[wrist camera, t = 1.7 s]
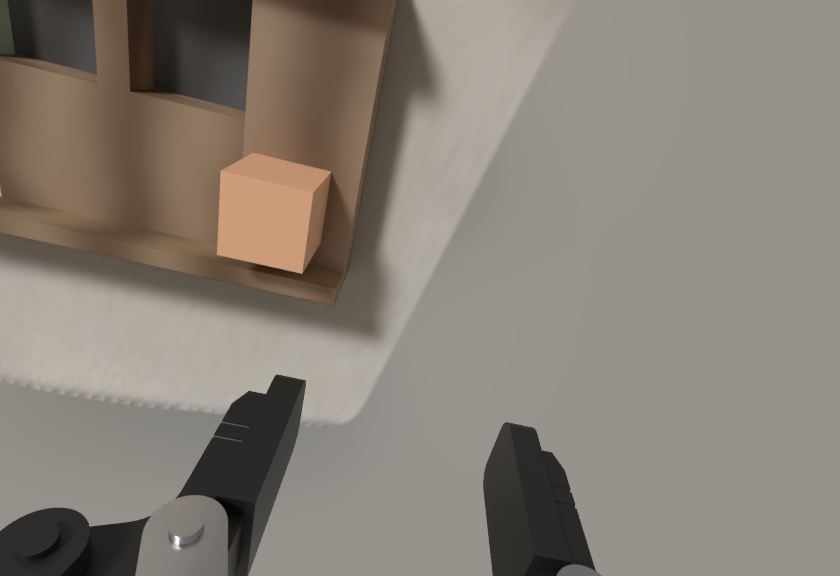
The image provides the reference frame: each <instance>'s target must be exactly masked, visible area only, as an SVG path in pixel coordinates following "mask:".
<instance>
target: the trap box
mask: <svg viewBox="0 0 840 576" xmlns="http://www.w3.org/2000/svg"><path fill="white" fill-rule="evenodd" d="M396 6H397V0H0V233H5V234H10V235H14V236H19V237H23V238H28V239H33V240H37V241H42V242H46V243H51V244H55V245H60V246H65V247H69V248H74V249H78V250H83V251H87V252H92V253H97V254H101V255H106V256H110V257H115V258H120V259H124V260H129V261H133V262H138V263H142V264H147V265H152V266H156V267H161V268H165V269H170V270H174V271H179V272H184V273H188V274H193V275H197V276H202V277H207V278H211V279H216V280H220V281H225V282H229V283H234V284H239V285H243V286H248V287H252V288H257V289H261V290H266V291H271V292H275V293H280V294H284V295H289V296H294V297H298V298H303V299H307V300H312V301H316V302H321V303H326V304H330V305H334V304H335V301H336V299H337V296H338V294H339V291H340V289H341V286H342V284H343V281H344V279H345V276H346V274H347V271H348V267H349V262H350V256H351V251H352V245H353V240H354V234H355V229H356V223H357V218H358V213H359V207H360V202H361V196H362V191H363V185H364V180H365V174H366V169H367V164H368V158H369V153H370V147H371V142H372V136H373V131H374V125H375V120H376V114H377V109H378V104H379V98H380V93H381V87H382V82H383V76H384V71H385V65H386V60H387V55H388V49H389V44H390V38H391V33H392V27H393V22H394V16H395V11H396ZM252 153H256V154H260V155H264V156H268V157H273V158H277V159H281V160H285V161H289V162H293V163H297V164H302V165H306V166H310V167H314V168H318V169H322V170H327V171H331V178H330V184H329V191H328V198H327V204H326V211H325V218H324V224H323V231H322V238H321V243H320V245H319V247H318V248H317V250H316V252H315V253H314V255H313V257H312V258H311V260H310V262H309V263H308V265H307V267H306V268H305V270H304V272H303V273H302V274H301V273H297V272H292V271H288V270H283V269H279V268H274V267H270V266H265V265H261V264H256V263H252V262H247V261H243V260H238V259H234V258H229V257H225V256H220V255H217V242H218V219H219V197H220V174H221V170H223V169H225V168H227V167H228V166H230V165H232V164H234V163H236V162H237V161H239V160H241V159H243V158H245V157H246V156H248V155H250V154H252Z"/></svg>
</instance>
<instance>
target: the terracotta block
mask: <svg viewBox="0 0 840 576" xmlns="http://www.w3.org/2000/svg"><path fill="white" fill-rule="evenodd" d="M330 178H331V171H327V170H322V169H318V168H314V167H310V166H306V165H302V164H297V163H293V162H289V161H285V160H281V159H277V158H273V157H268V156H264V155H260V154H256V153H252V154H250V155H248V156H246V157H245V158H243V159H241V160H239V161H237V162H236V163H234V164H232V165H230V166H228V167H227V168H225V169H223V170H221V174H220V197H219V219H218V242H217V255H220V256H225V257H229V258H234V259H238V260H243V261H247V262H252V263H256V264H261V265H265V266H270V267H274V268H279V269H283V270H288V271H292V272H297V273H301V274H302V273H303V272H304V270H305V268H306V267H307V265H308V263H309V262H310V260H311V258H312V257H313V255H314V253H315V252H316V250H317V248H318V247H319V245H320V243H321V238H322V231H323V224H324V218H325V211H326V204H327V198H328V191H329V184H330Z"/></svg>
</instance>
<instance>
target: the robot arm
mask: <svg viewBox="0 0 840 576" xmlns="http://www.w3.org/2000/svg"><path fill="white" fill-rule="evenodd" d="M305 387H306V381H305V380H301V379H296V378H291V377H286V376H282V375H276V376H275V377H274V379H273V381H272V383H271V385H270V387H269V389H268V391H267V393H266V394H262V393H257V392H252V391H248V392H247V393H246V394H244V395H243V396H241V397H240V398H239V399H237V400H236V401H235V402H233V403H232V404H231V406H230V408H229V410H228V411H227V413H226V415H225V417H224V418H223V420H222V423H221V424H220V425H219V427H218V429H217V430H216V432H215V434H214V437H213V438H212V439H211V441H210V443H209V444H208V446H207V448H206V449H205V451H204V453H203V455H202V456H201V458H200V460H199V461H198V463H197V465H196V467H195V469H194V470H193V472H192V474H191V475H190V477H189V479H188V480H187V482H186V484H185V486H184V487H183V489H182V491H181V492H180V494H179V495H178V497H176V499H174V500H172V501H170V502H168V503H166V504H164V505H163V506H161V507H160V508H159V509H158V510H156V511H155V512H154V513H153V515H152V516H149V517H147V518H144V519H141V520H137V521H132V522H126V523H118V524H109V525H102V526H101V525H100V526H92V527H89V523H88V521H87V520H86V518H85V517H84V516H83V515H82V514H81V513H79V512H77V511H75V510H72V509H67V508H49V509H43V510H40V511H36V512H33V513H30V514H27V515H25V516H23V517H21V518H19V519H17V520H16V521H14V522H12V523H11V524H9V525H8V526H6V527H5V528H4V529H2V530H1V531H0V576H248V574H249V572H250V569H251V566H252V563H253V561H254V558H255V555H256V552H257V549H258V547H259V543H260V541H261V538H262V536H263V533H264V530H265V527H266V524H267V522H268V519H269V516H270V513H271V510H272V508H273V505H274V502H275V499H276V496H277V494H278V491H279V488H280V485H281V482H282V480H283V477H284V474H285V471H286V469H287V466H288V463H289V460H290V457H291V455H292V452H293V448H294V446H295V442H296V438H297V434H298V430H299V425H300V419H301V412H302V406H303V400H304V393H305ZM483 488H484V499H485V508H486V517H487V526H488V536H489V545H490V553H491V563H492V572H493V576H602V575H600V574H599V573H598V572H596V570H595V567H594V564H593V561H592V558H591V554H590V551H589V548H588V545H587V541H586V538H585V535H584V532H583V528H582V525H581V522H580V519H579V515H578V512H577V509H575V502H574V499H573V496H572V493H570V486H569V483H568V480H567V476H566V473H565V470H564V469H563V468H562V466H561V465H560V463H559V462H558V460H557V459H556V458H555V456H554V455H553V453H551V452H547V451H542V450H541V447H540V443H539V439H538V435H537V432H536V430H535V429H534V428H532V427H527V426H522V425H517V424H513V423H508V422H506V423H504V424H503V426H502V428H501V430H500V433H499V435H498V437H497V440H496V442H495V445H494V447H493V449H492V452H491V454H490V457H489V459H488V462H487V464H486V468H485V472H484V480H483Z"/></svg>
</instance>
